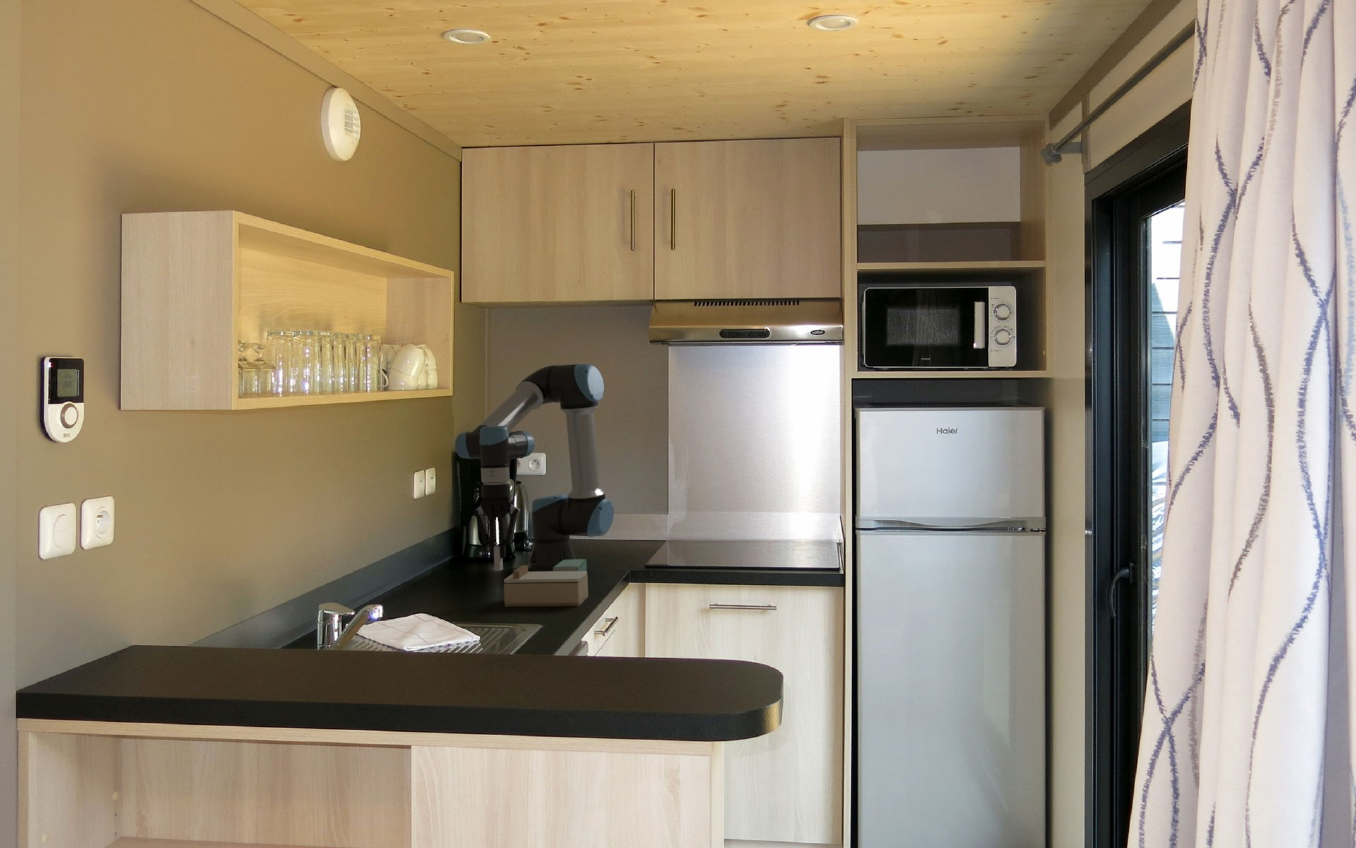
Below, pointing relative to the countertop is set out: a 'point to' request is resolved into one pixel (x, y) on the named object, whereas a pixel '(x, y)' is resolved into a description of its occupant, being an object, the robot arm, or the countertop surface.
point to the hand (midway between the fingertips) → (498, 570)
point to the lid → (544, 576)
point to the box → (571, 565)
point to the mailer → (546, 593)
